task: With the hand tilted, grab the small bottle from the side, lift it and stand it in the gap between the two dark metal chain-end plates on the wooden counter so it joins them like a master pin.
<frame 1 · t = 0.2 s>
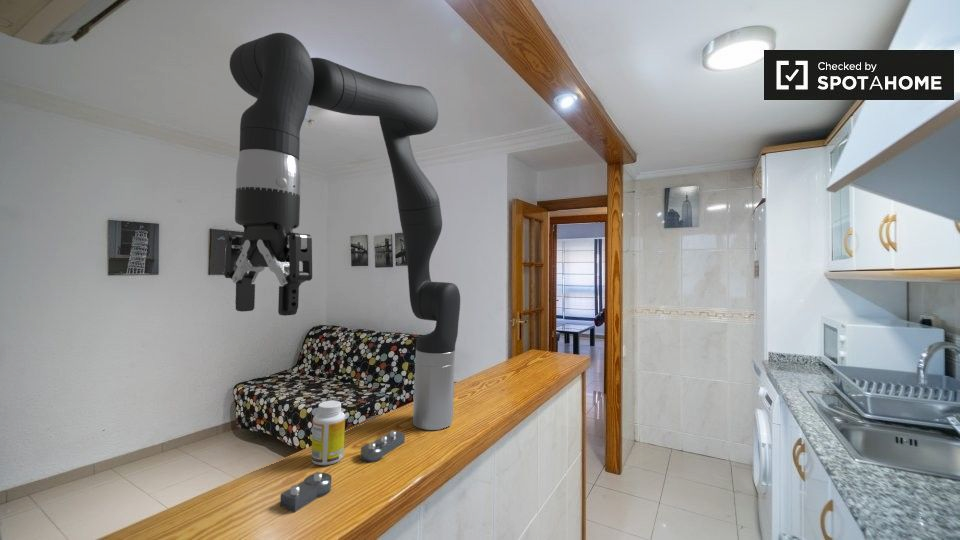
hand: (265, 312, 51), 29 cm above the countertop, tool pointing down, fingers open, 8 cm apart
chain end 1: (304, 498, 59), on the countertop
chain end 2: (386, 448, 77), on the countertop
supplement bottle: (327, 460, 72), on the countertop
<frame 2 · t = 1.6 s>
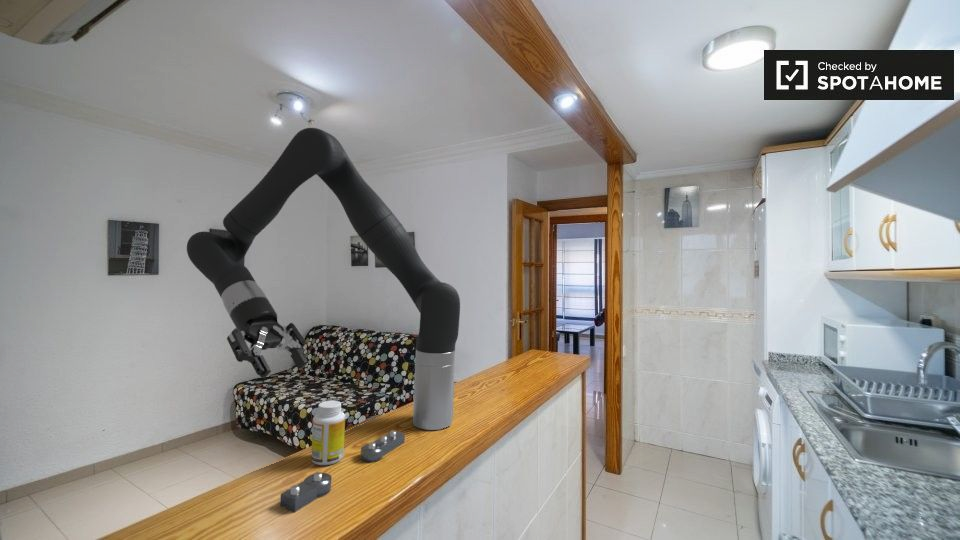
hand: (286, 370, 76), 15 cm above the countertop, tool tilted 45°, fingers open, 8 cm apart
nothing on the countertop moved.
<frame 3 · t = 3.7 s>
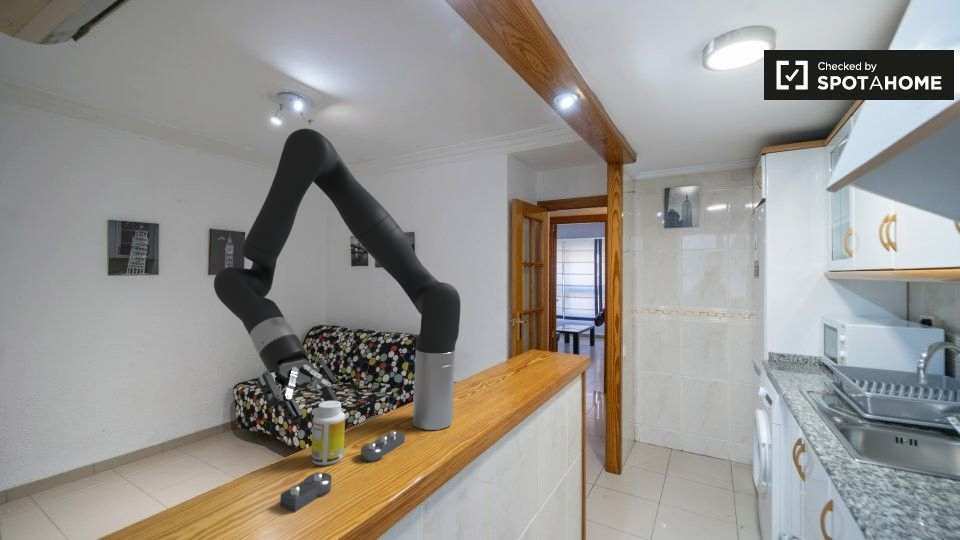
hand: (317, 412, 73), 8 cm above the countertop, tool tilted 45°, fingers open, 8 cm apart
nothing on the countertop moved.
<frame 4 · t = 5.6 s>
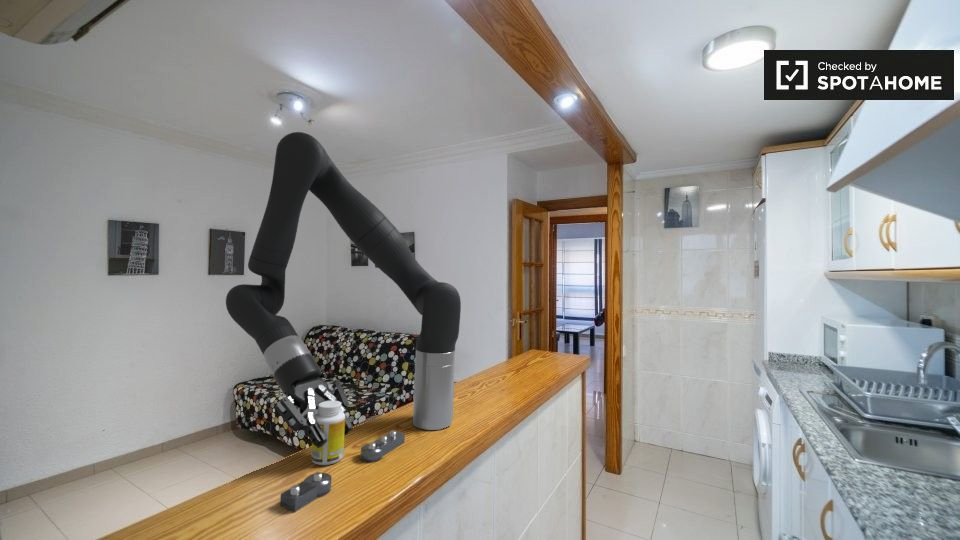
hand: (335, 438, 71), 4 cm above the countertop, tool tilted 45°, fingers closed on supplement bottle, 5 cm apart
supplement bottle: (327, 460, 72), on the countertop, touching gripper
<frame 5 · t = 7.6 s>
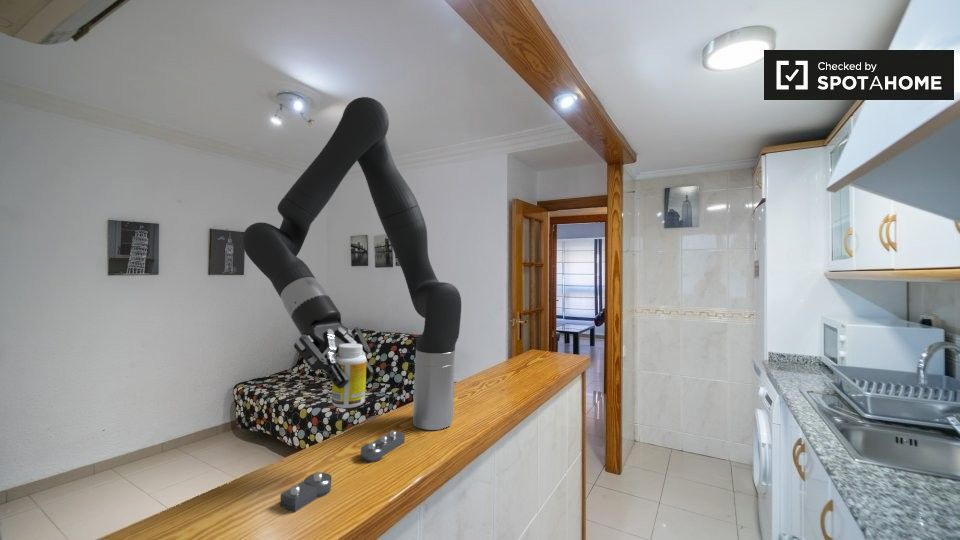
hand: (357, 380, 67), 16 cm above the countertop, tool tilted 45°, fingers closed on supplement bottle, 5 cm apart
supplement bottle: (348, 404, 68), point 12 cm above the countertop, touching gripper
when the fingers open (6 cm above the countertop, at t = 10.1 s): supplement bottle drops 1 cm, on the countertop.
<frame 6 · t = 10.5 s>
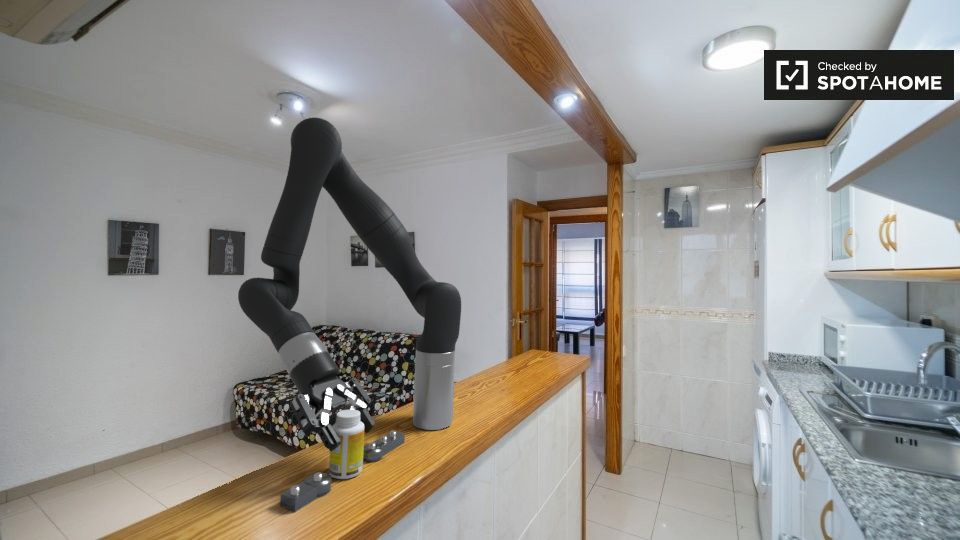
hand: (354, 438, 67), 6 cm above the countertop, tool tilted 45°, fingers open, 8 cm apart
supplement bottle: (345, 473, 67), on the countertop
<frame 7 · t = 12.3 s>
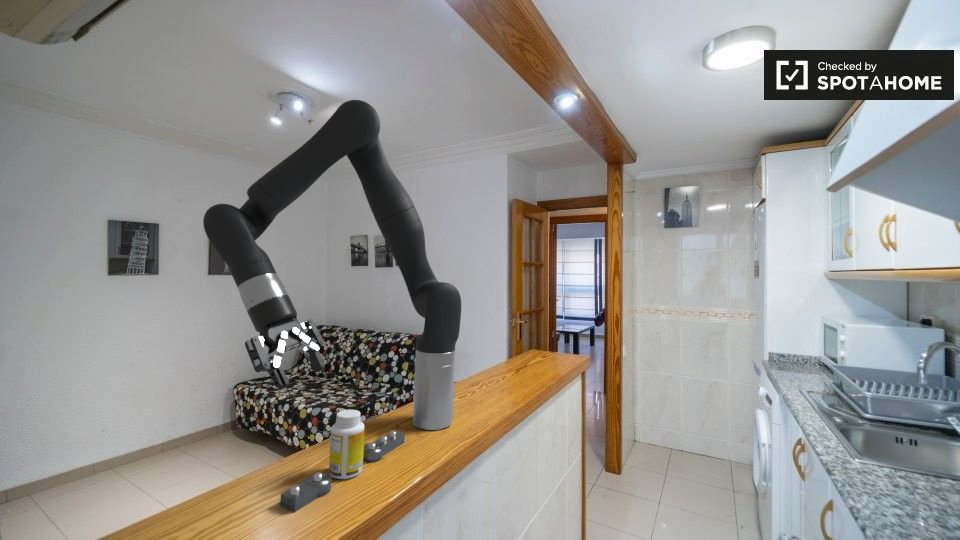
hand: (303, 378, 73), 14 cm above the countertop, tool tilted 30°, fingers open, 8 cm apart
nothing on the countertop moved.
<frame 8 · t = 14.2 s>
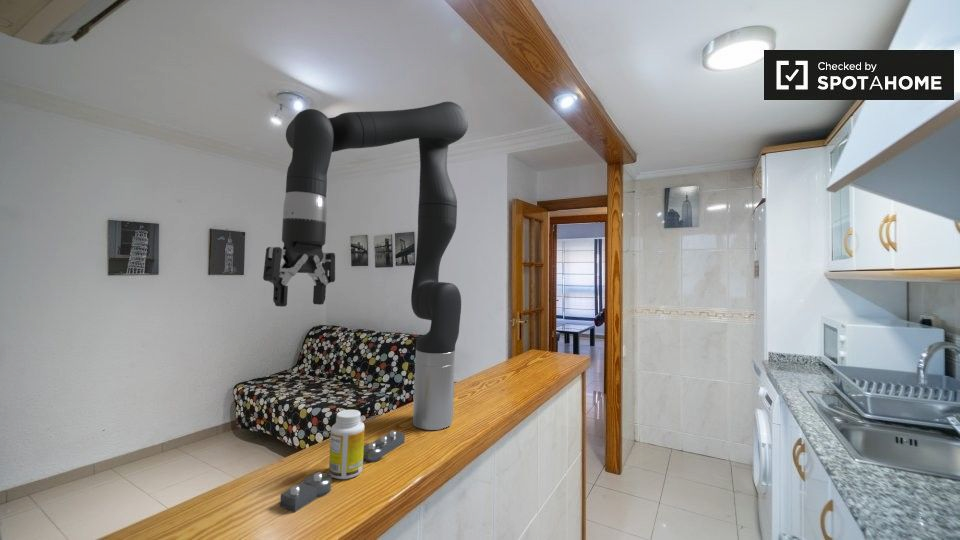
hand: (300, 305, 73), 28 cm above the countertop, tool pointing down, fingers open, 8 cm apart
nothing on the countertop moved.
at the end: supplement bottle 0.2 cm from the target spot, on the countertop; supplement bottle tilted 0°; the gripper is holding nothing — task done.
